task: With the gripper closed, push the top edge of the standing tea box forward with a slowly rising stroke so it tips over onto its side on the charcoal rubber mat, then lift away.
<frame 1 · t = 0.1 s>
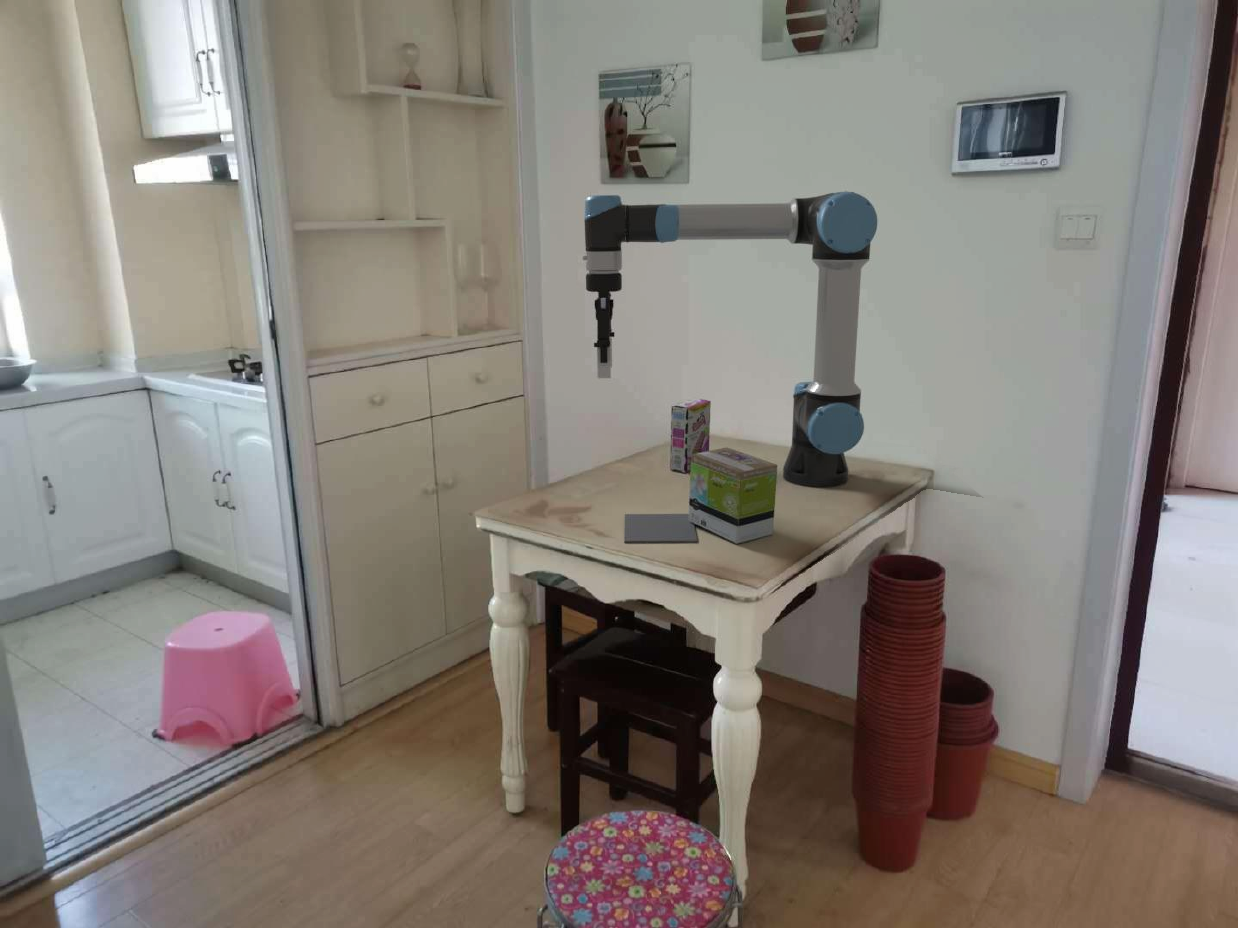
hand: (605, 372, 196), 28 cm above the table, tool pointing down, fingers open, 13 cm apart
mat: (659, 528, 183), on the table
candy bar box: (690, 468, 226), on the table
tea box: (729, 529, 182), on the table, touching mat
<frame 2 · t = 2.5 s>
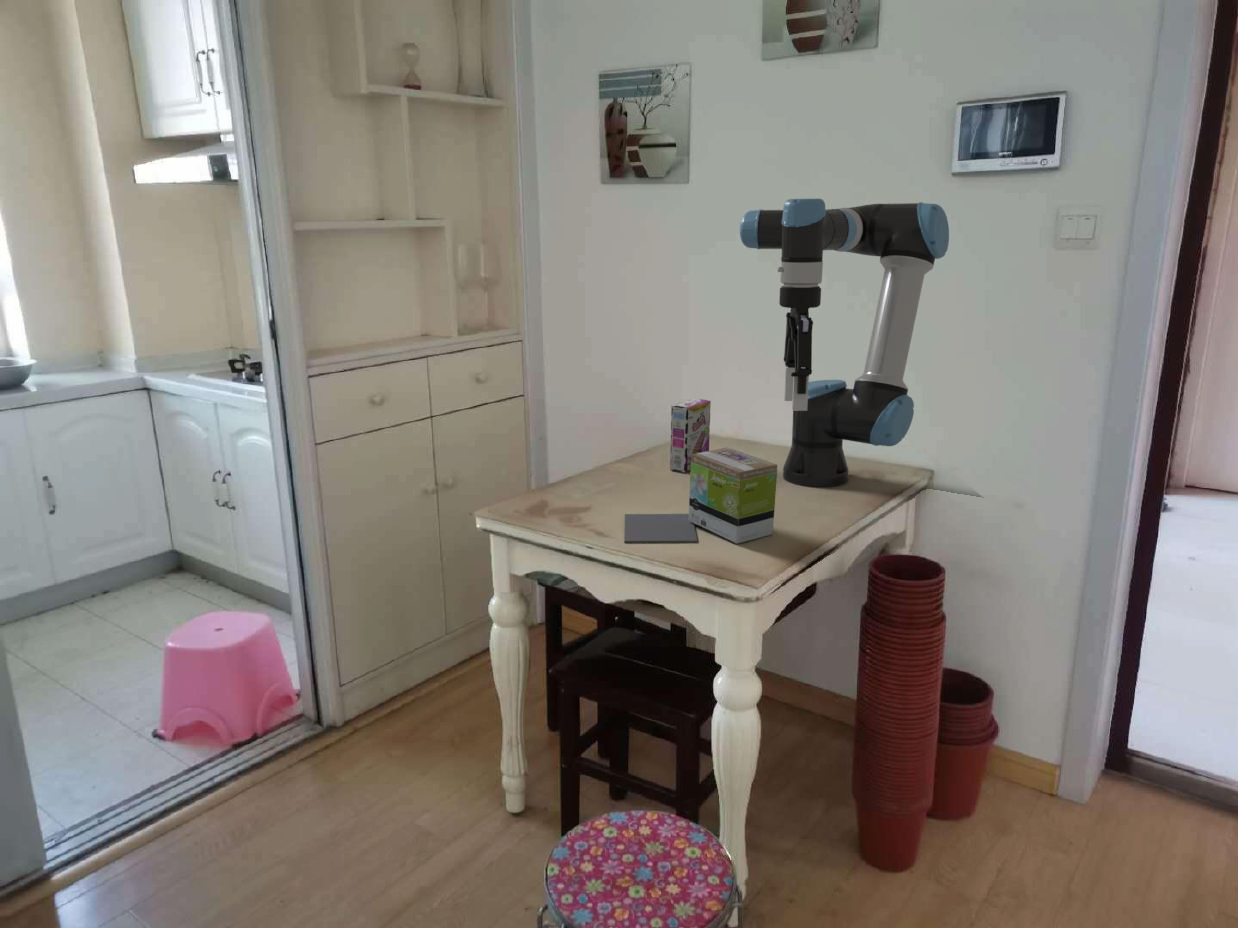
hand: (795, 405, 175), 25 cm above the table, tool pointing down, fingers open, 8 cm apart
nothing on the table moved.
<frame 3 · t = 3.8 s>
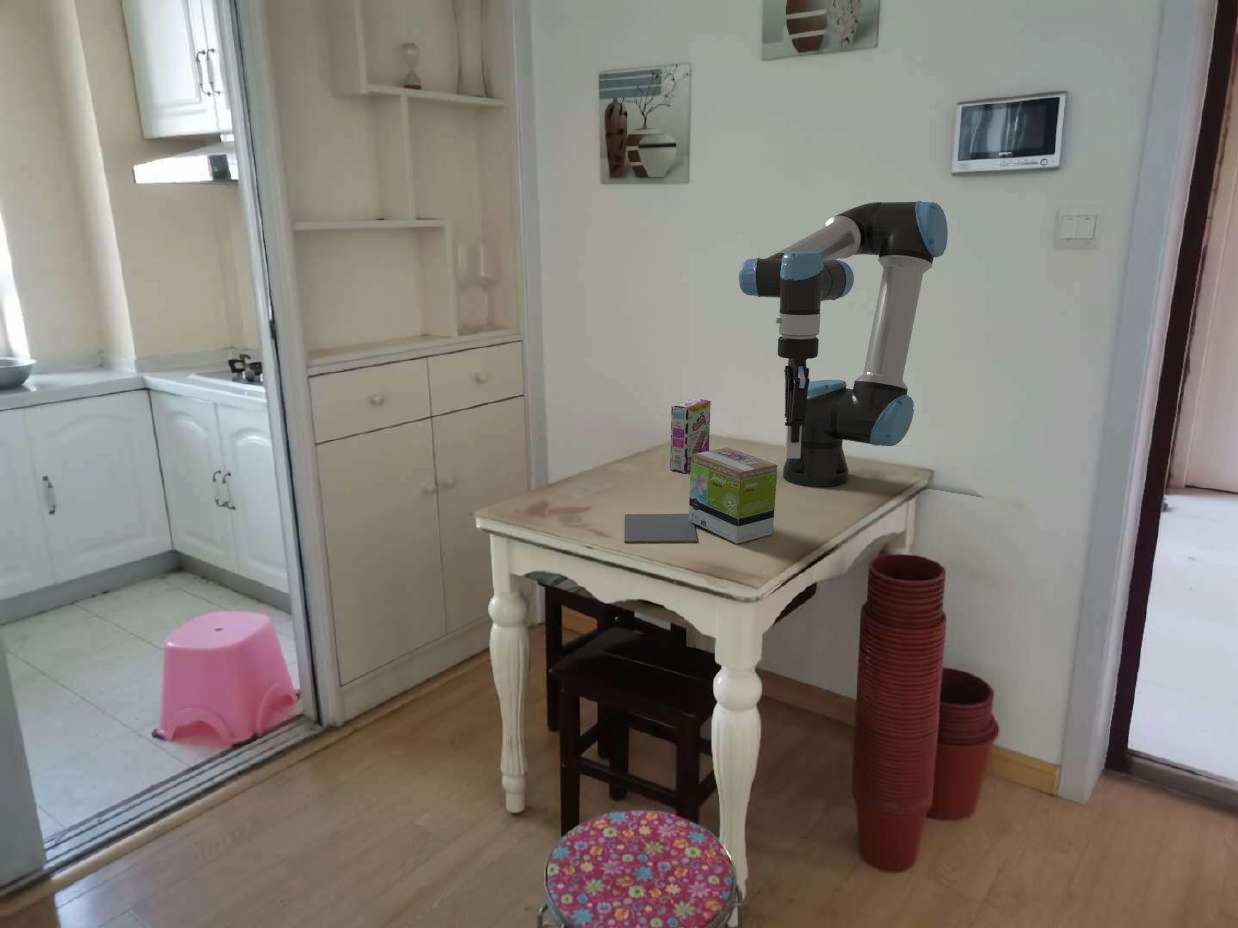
hand: (792, 457, 177), 15 cm above the table, tool pointing down, fingers closed
nothing on the table moved.
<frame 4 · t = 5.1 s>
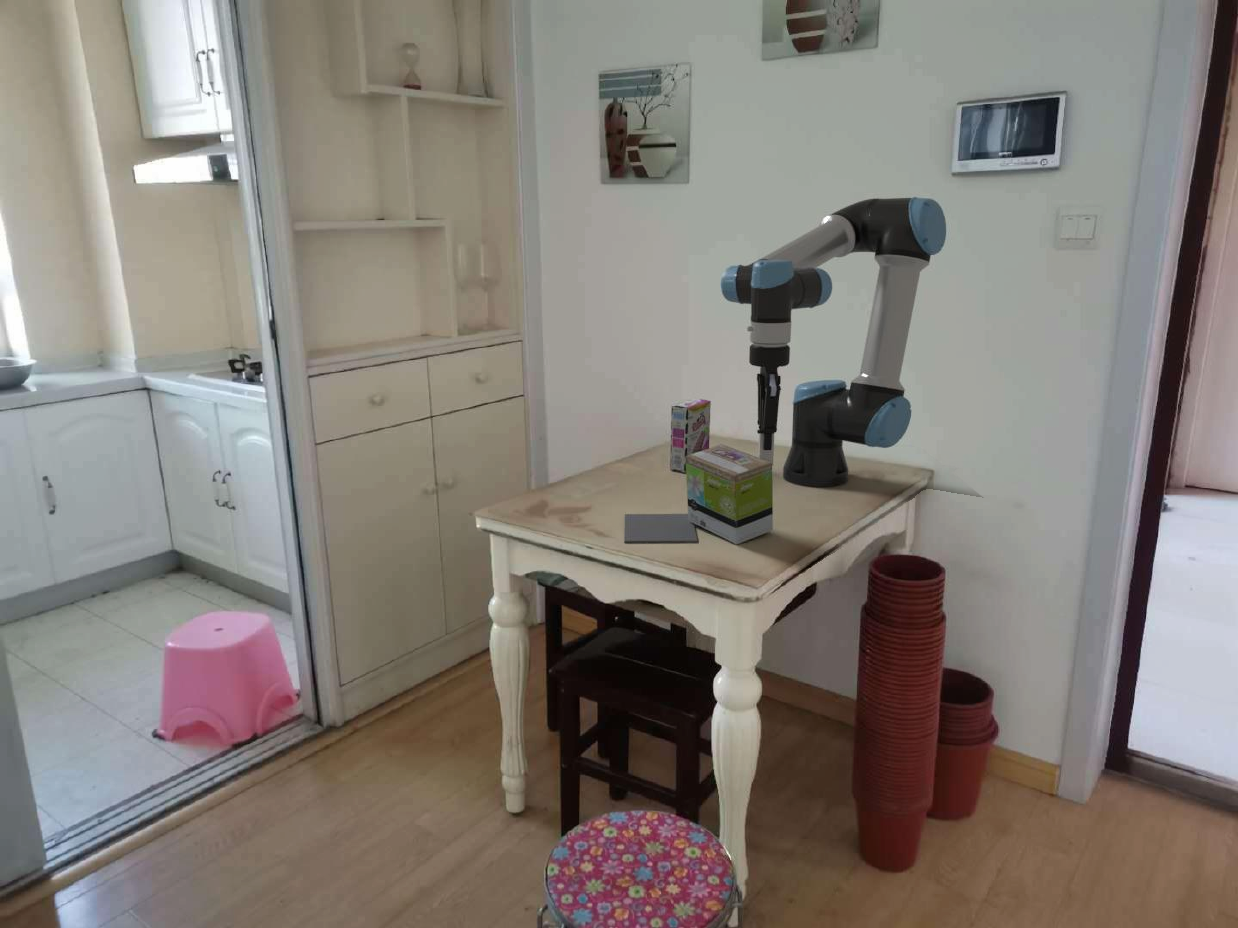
hand: (765, 464, 178), 14 cm above the table, tool pointing down, fingers closed
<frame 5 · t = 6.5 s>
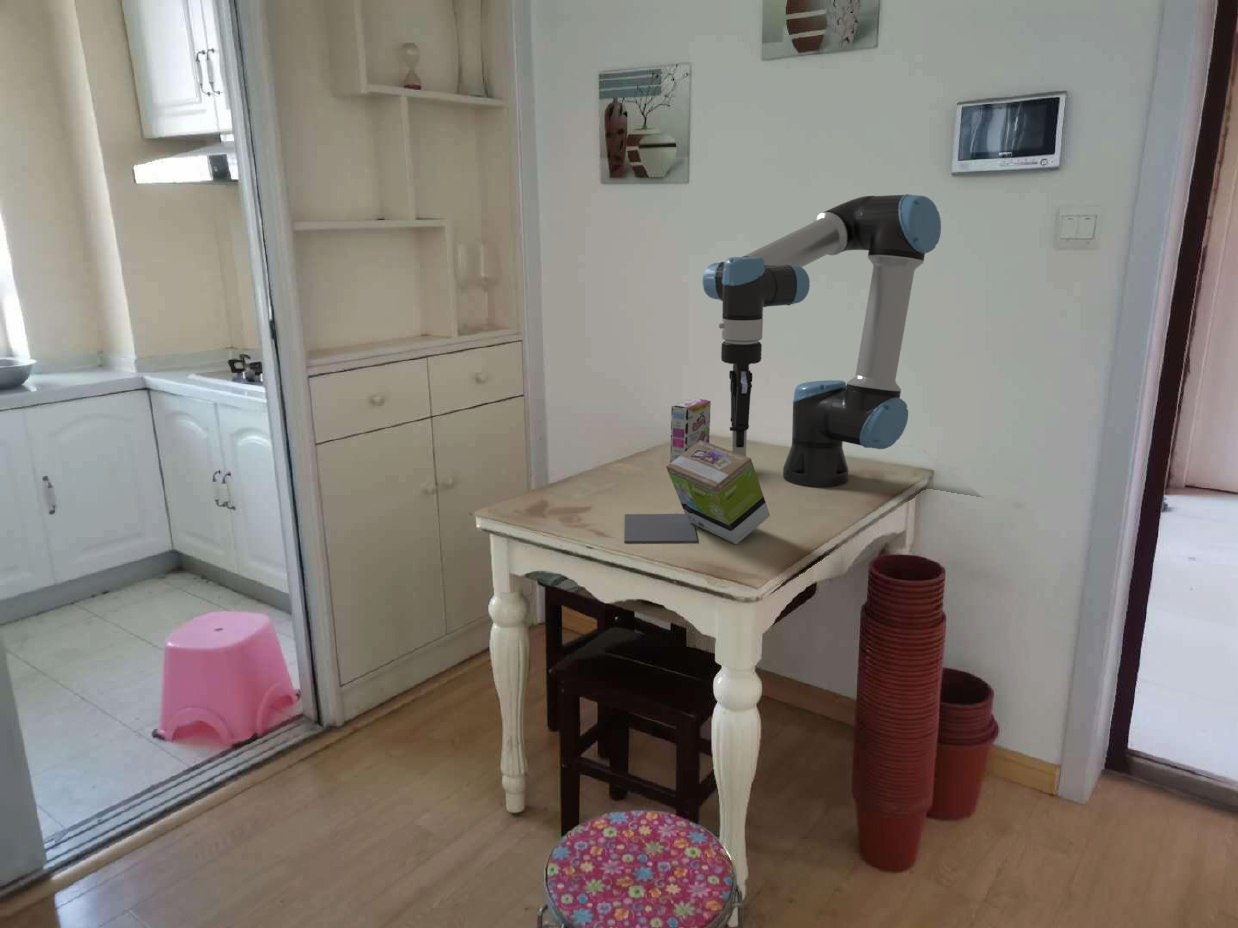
hand: (738, 461, 178), 14 cm above the table, tool pointing down, fingers closed
tea box: (728, 520, 181), point 2 cm above the table, touching mat
everything else where it was.
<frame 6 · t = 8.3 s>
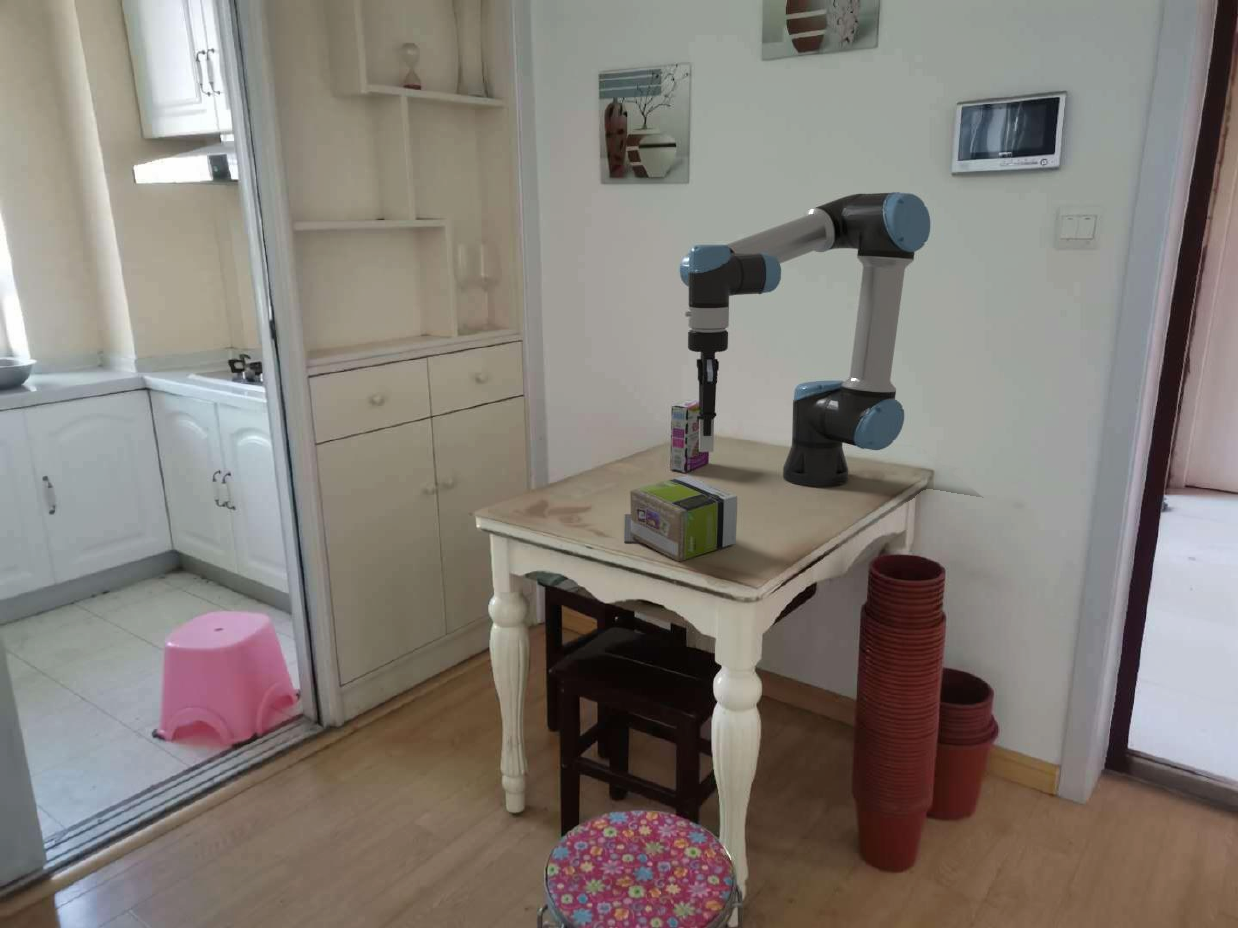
hand: (706, 450, 177), 16 cm above the table, tool pointing down, fingers closed
tea box: (713, 508, 178), point 5 cm above the table, touching mat
everything else where it was.
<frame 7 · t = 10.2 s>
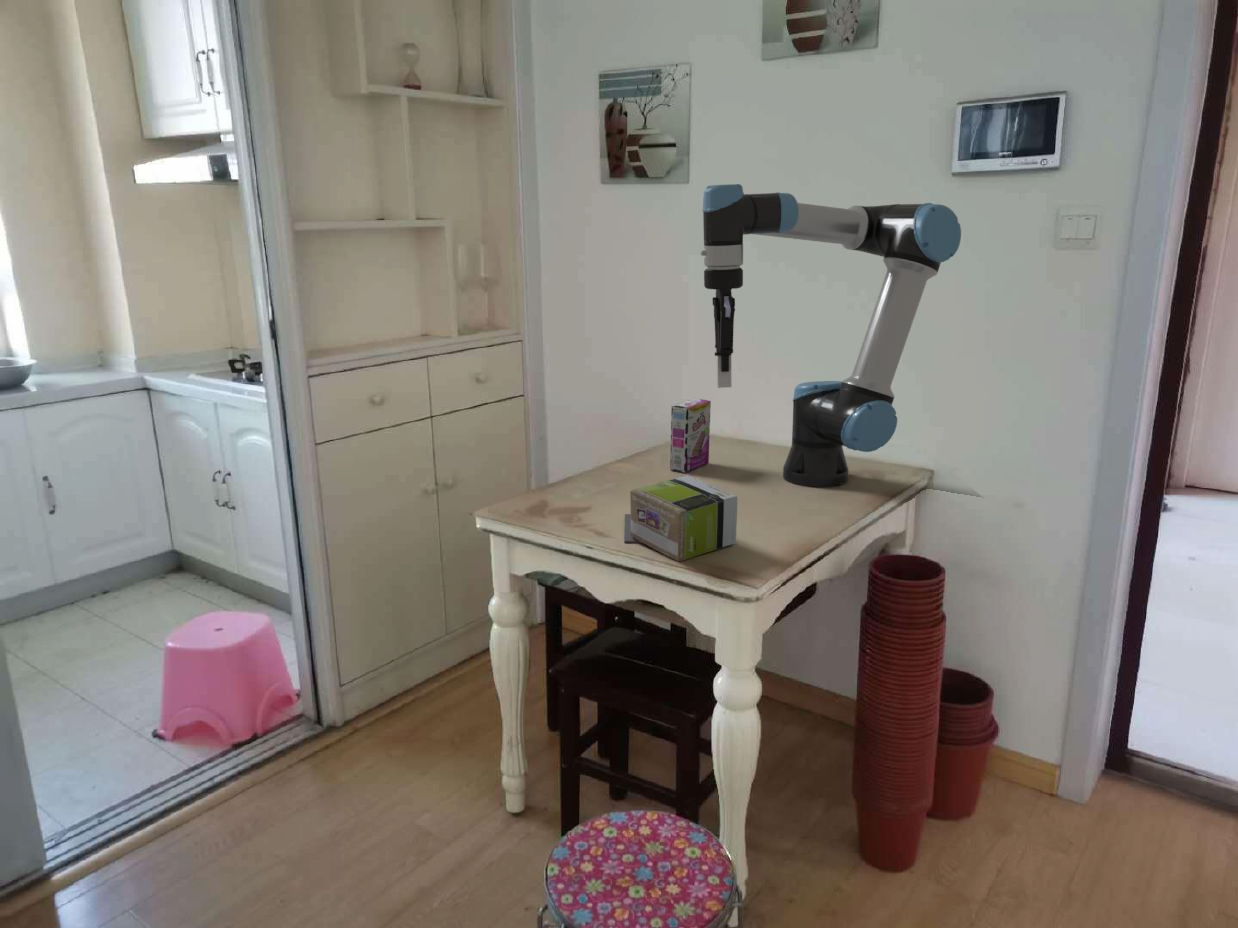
hand: (724, 386, 184), 27 cm above the table, tool pointing down, fingers closed
nothing on the table moved.
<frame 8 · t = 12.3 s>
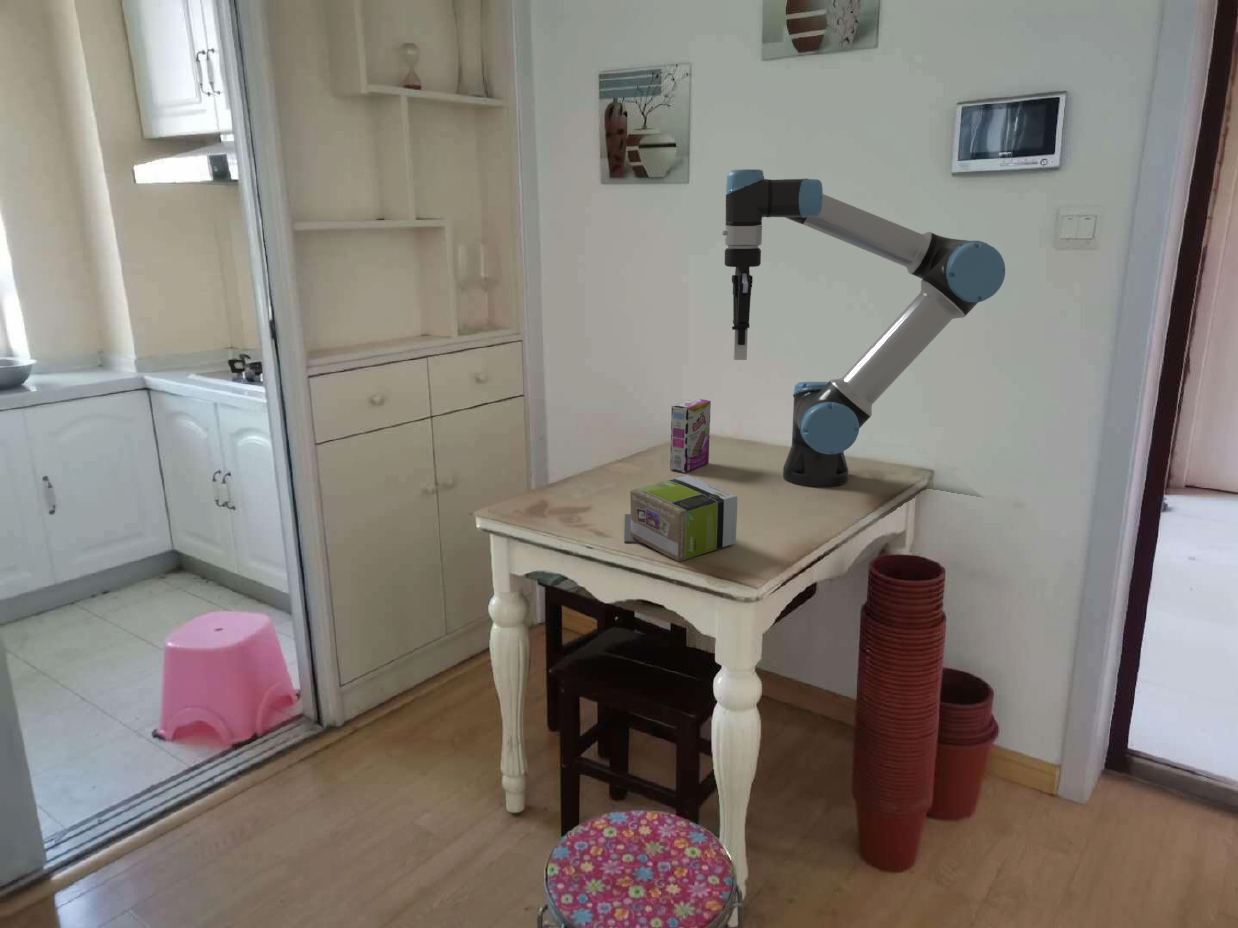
hand: (740, 359, 197), 30 cm above the table, tool pointing down, fingers closed
nothing on the table moved.
at the end: tea box tilted 91°; tea box touching mat, table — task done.
